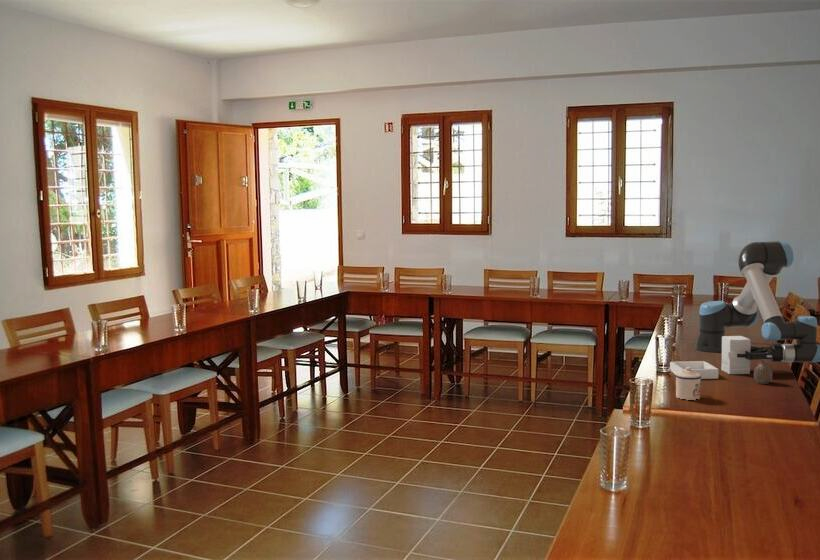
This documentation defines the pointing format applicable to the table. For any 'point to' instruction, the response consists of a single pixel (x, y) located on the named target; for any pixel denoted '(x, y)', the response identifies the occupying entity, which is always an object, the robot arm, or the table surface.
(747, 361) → the supplement box
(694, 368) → the white bin
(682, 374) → the teacup with lid
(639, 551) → the table surface
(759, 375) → the vase
